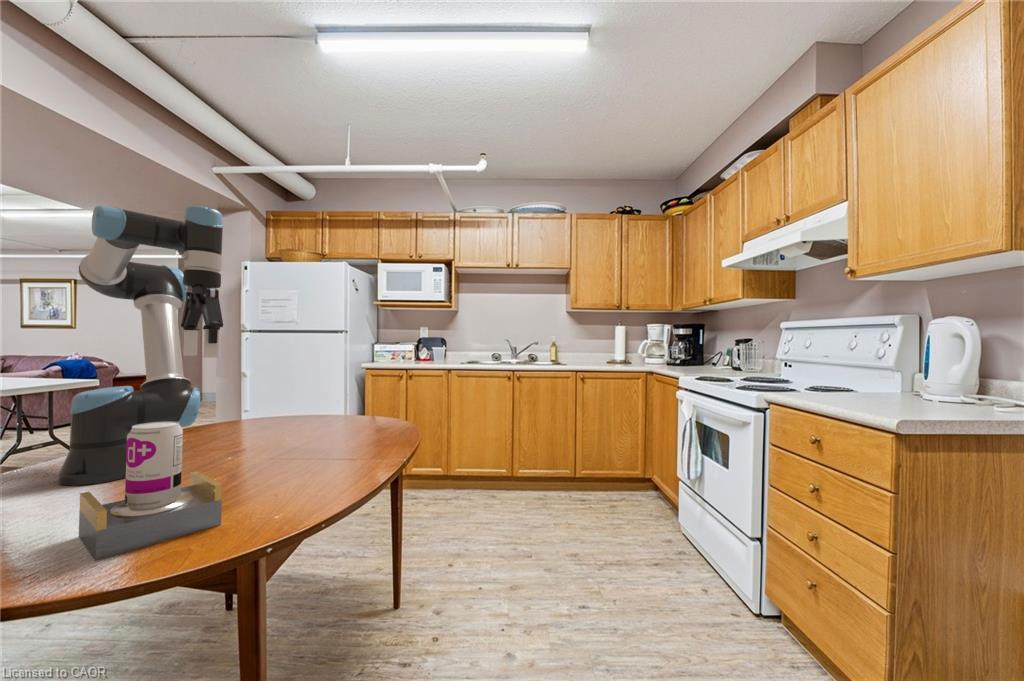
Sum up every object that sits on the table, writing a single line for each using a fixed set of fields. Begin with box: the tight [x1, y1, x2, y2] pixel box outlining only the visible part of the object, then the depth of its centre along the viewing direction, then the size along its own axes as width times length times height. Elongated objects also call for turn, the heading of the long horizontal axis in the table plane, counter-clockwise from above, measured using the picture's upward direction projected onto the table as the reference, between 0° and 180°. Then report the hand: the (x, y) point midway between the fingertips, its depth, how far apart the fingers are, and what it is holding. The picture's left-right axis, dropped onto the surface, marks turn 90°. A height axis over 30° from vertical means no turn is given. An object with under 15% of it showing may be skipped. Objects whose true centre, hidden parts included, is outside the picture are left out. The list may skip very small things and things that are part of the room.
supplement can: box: [124, 422, 184, 510], centre depth 80 cm, size 8×8×15 cm
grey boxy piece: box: [78, 470, 223, 562], centre depth 80 cm, size 14×18×8 cm
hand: (200, 356), depth 103 cm, fingers open, 13 cm apart
